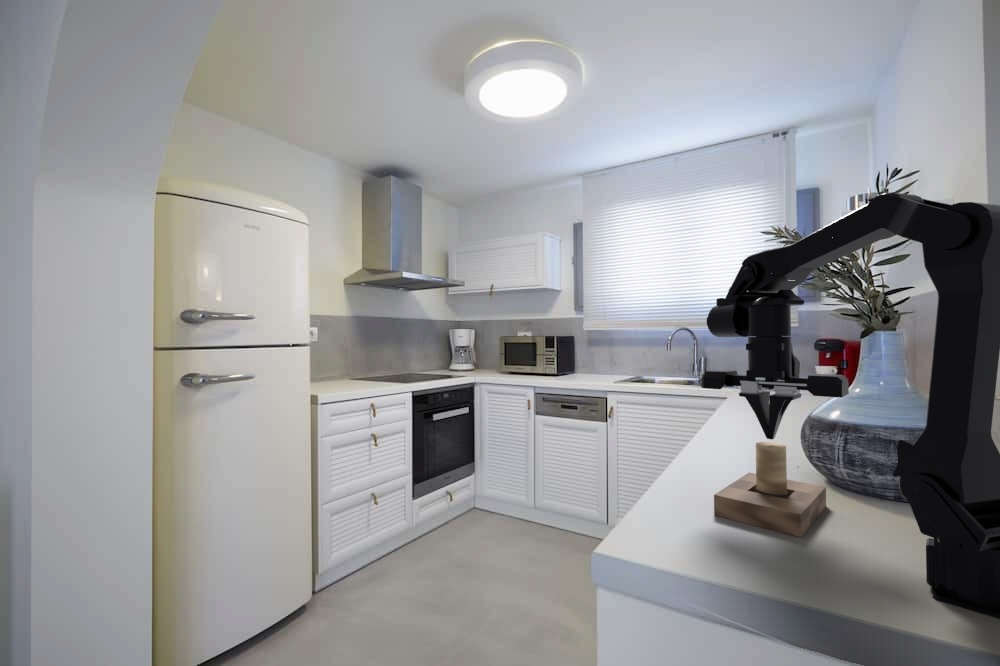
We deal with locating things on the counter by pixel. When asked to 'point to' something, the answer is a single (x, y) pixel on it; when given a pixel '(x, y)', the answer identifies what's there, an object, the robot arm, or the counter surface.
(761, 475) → the oak peg
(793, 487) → the walnut board
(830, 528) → the counter surface
